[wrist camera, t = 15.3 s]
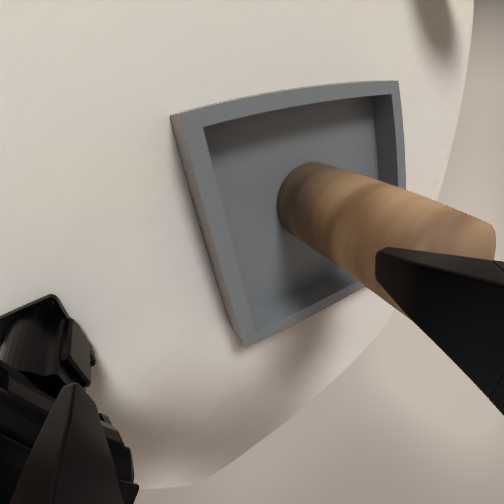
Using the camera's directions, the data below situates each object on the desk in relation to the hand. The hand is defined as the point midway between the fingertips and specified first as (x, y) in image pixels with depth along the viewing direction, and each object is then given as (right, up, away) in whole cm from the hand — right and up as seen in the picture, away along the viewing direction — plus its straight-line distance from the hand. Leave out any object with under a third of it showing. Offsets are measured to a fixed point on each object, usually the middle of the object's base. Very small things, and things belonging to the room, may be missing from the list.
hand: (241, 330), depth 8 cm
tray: (+4, +6, +15) cm, 17 cm away
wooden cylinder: (+4, +6, +14) cm, 16 cm away
